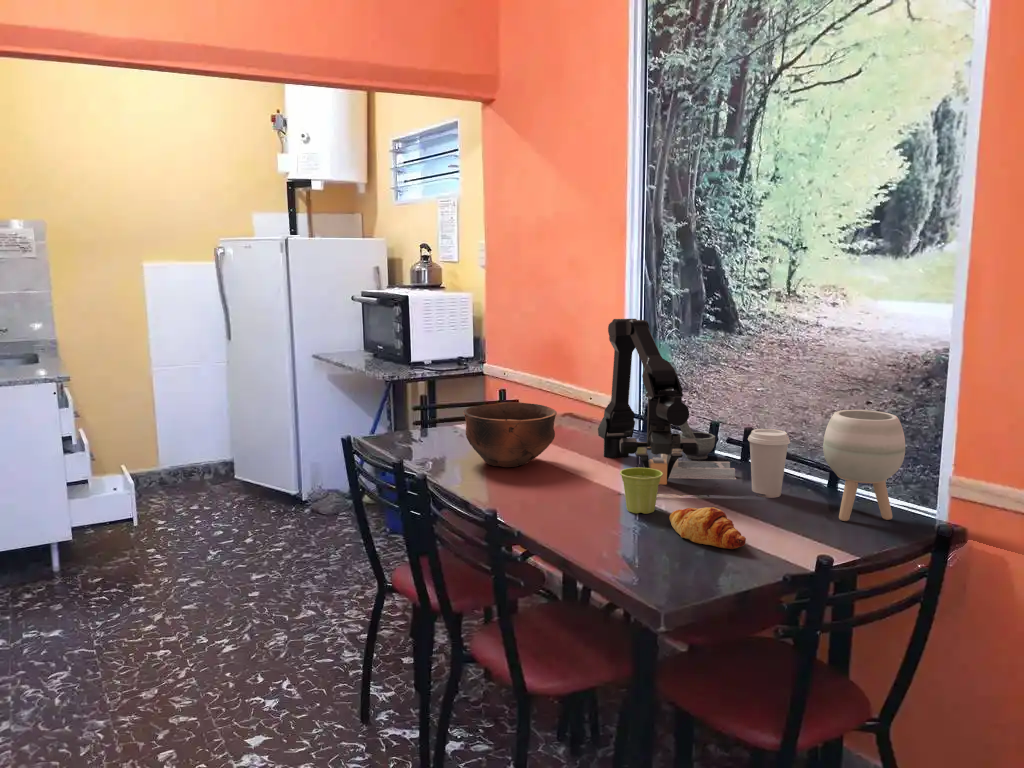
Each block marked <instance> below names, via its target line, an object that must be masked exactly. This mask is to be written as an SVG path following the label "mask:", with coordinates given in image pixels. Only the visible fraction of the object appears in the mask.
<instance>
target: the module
mask: <svg viewBox="0 0 1024 768" xmlns="http://www.w3.org/2000/svg"><path fill="white" fill-rule="evenodd" d="M648 460H649V468H651V469H656V470H659V471H661V472H662V473H663V475H662V477H661V479H660V482H659V485H668V481H667V462H666V460H663V458H661V457H652V459H651V458H650V459H649V458H648Z"/></svg>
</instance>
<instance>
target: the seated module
mask: <svg viewBox="0 0 1024 768" xmlns="http://www.w3.org/2000/svg"><path fill="white" fill-rule="evenodd" d="M667 456H668V455H666V454H660V458H663V460H666V462H667ZM678 461H679V458H678V459H677V460H676V462H675V464H674V466H673V467H678Z"/></svg>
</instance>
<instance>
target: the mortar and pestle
mask: <svg viewBox="0 0 1024 768" xmlns="http://www.w3.org/2000/svg"><path fill="white" fill-rule="evenodd" d="M688 422H689V421H688V420H687V421H686V422H685V423H684V424H683V425H681V426H679V428H680V430H681V433H679V434H680V436H681V437H680V439H694V440H695V441H696V442H697V444H698V446H699V454H697V455H686V454H684V455H685V456H684V457H685V458H687V459H691V460H706V459H708V455H709V454H710V453H711V452H712V451H713V449H714V447H715V444H716V435H714V434H712V433H708V432H703V431H700V432H699V431H693V430H692V429H691V427H690V425H689V423H688Z"/></svg>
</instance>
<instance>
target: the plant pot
mask: <svg viewBox="0 0 1024 768" xmlns="http://www.w3.org/2000/svg"><path fill="white" fill-rule="evenodd" d="M619 475H620V476H621V480H622V482H623V489H624V497H625V506H626V510H627V511H628V512H629V513H633V514H640V513H642V514H644V515H645V514H647V515H648V514H651V513H654V512H655V509H656V503H657V498H658V497H657V496H658V490H659V485H660V484H659V482H660V479H661V477H662V475H663V473H662V472H661V471H659V470H656V469H651V468H644V467H629V468H623V469H621V470H620V471H619Z"/></svg>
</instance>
